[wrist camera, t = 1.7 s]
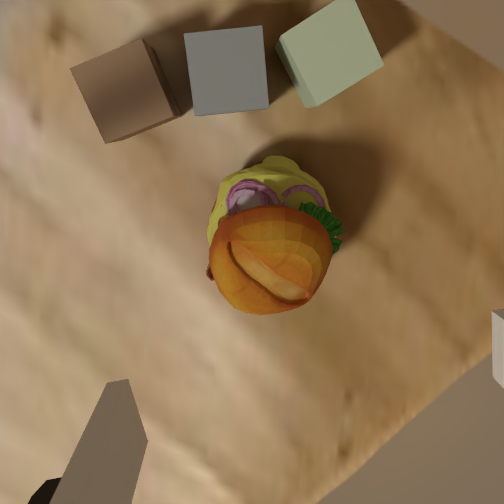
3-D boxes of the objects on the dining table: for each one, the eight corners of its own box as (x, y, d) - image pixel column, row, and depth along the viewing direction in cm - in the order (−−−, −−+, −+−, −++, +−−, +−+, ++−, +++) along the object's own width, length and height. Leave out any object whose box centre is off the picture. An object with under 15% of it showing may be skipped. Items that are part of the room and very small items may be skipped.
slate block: (190, 45, 32) (183, 33, 27) (257, 38, 32) (262, 25, 27) (200, 116, 33) (194, 115, 29) (263, 109, 33) (269, 108, 29)
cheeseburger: (343, 161, 35) (376, 217, 26) (310, 269, 40) (328, 344, 32) (220, 139, 34) (212, 190, 25) (203, 253, 39) (191, 327, 30)
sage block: (273, 47, 32) (281, 35, 27) (332, 9, 31) (350, -10, 27) (305, 107, 33) (317, 106, 29) (362, 72, 33) (384, 65, 28)
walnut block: (93, 75, 32) (69, 68, 27) (154, 50, 32) (141, 38, 27) (123, 140, 34) (105, 143, 29) (181, 116, 33) (173, 116, 28)
